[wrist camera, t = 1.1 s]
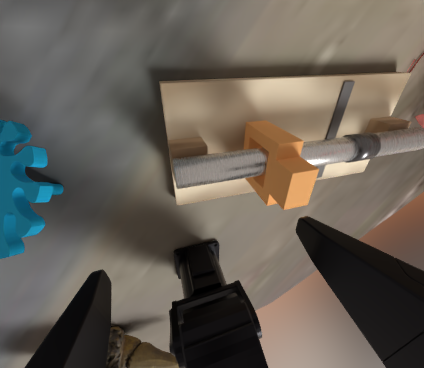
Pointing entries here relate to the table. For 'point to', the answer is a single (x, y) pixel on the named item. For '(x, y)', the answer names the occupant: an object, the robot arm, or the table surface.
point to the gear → (20, 188)
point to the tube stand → (283, 118)
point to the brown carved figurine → (135, 353)
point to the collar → (280, 166)
